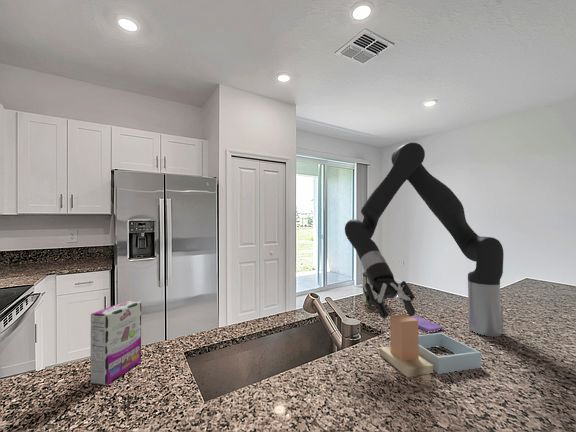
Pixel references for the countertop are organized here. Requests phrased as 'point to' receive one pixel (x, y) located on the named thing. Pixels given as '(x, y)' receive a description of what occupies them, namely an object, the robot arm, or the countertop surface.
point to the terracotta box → (404, 337)
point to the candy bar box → (115, 341)
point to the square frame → (450, 363)
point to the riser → (407, 364)
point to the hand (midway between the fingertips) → (399, 316)
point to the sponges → (426, 324)
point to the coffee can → (365, 280)
